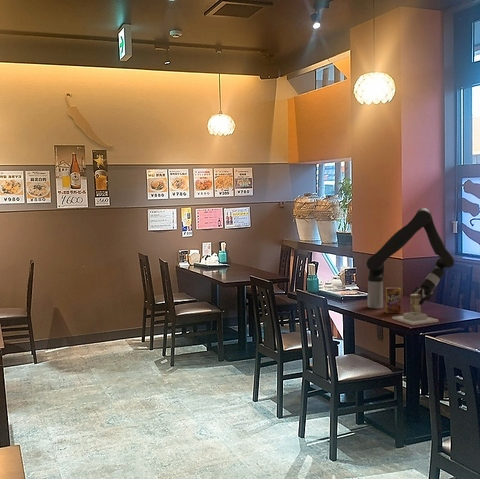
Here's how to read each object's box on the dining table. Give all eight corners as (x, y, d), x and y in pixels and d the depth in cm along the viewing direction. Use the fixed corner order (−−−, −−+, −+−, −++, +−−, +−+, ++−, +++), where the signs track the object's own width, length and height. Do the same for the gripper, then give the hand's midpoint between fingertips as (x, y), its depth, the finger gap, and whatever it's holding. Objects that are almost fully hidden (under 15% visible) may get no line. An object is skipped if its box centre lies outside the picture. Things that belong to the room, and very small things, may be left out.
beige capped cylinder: (410, 314, 349) (410, 294, 348) (415, 313, 351) (415, 293, 350) (415, 315, 345) (415, 295, 344) (420, 314, 347) (420, 294, 346)
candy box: (385, 313, 354) (385, 288, 353) (385, 311, 358) (385, 287, 357) (400, 313, 352) (401, 288, 351) (400, 311, 357) (400, 287, 355)
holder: (392, 319, 337) (392, 312, 336) (417, 315, 344) (417, 309, 343) (412, 325, 320) (412, 318, 320) (438, 321, 327) (438, 315, 327)
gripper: (419, 277, 356) (403, 297, 353) (435, 280, 343) (419, 300, 340) (425, 285, 359) (410, 305, 355) (442, 288, 346) (426, 309, 342)
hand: (415, 302), depth 347 cm, fingers open, 8 cm apart
